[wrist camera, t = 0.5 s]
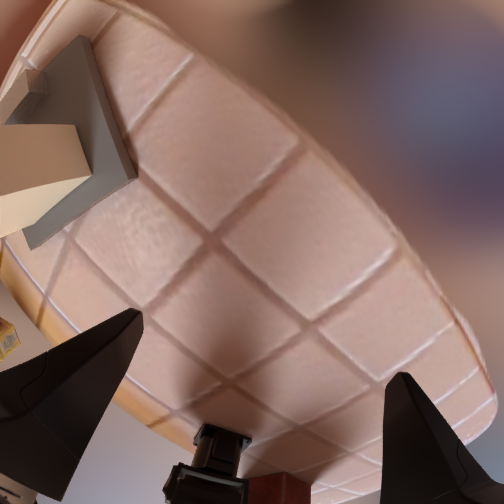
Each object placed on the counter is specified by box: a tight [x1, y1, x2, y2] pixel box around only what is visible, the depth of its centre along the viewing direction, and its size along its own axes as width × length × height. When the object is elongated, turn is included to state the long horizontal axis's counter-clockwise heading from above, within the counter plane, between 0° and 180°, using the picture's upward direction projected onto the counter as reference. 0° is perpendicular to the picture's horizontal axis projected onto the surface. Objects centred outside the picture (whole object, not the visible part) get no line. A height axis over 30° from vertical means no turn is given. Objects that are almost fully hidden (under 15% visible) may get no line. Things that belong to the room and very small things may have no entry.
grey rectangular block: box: [0, 69, 51, 125], centre depth 16 cm, size 3×6×3 cm, turn 113°
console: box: [22, 35, 138, 250], centre depth 19 cm, size 16×16×2 cm
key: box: [0, 124, 92, 238], centre depth 14 cm, size 5×10×12 cm, turn 113°
